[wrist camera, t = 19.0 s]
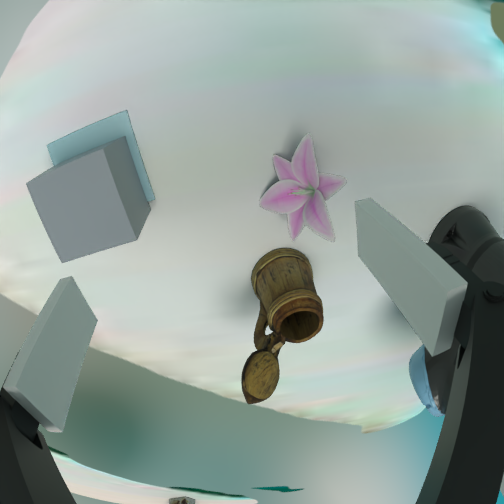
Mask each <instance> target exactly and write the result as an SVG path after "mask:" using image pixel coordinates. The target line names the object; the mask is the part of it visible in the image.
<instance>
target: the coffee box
mask: <svg viewBox="0 0 504 504" xmlns="http://www.w3.org/2000/svg"><path fill="white" fill-rule="evenodd" d="M169 504H195V500H194V499H191V498H188V497H180V498H172V499H169Z"/></svg>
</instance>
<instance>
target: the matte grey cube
mask: <svg viewBox="0 0 504 504" xmlns="http://www.w3.org/2000/svg"><path fill="white" fill-rule="evenodd" d="M26 185H27V187H28V190H29V192H30V195H31V197H32V200H33V202H34V205H35V207H36V209H37V212H38V214H39V216H40V219H41V221H42V223H43V225H44V228H45V230H46V232H47V234H48V236H49V238H50V240H51V242H52V244H53V247H54V249H55V251H56V253H57V255H58V257H59V259H60V260H61V262H62V263H64V262H67V261H71V260H74V259H77V258H80V257H83V256H86V255H90V254H93V253H96V252H99V251H103V250H106V249H109V248H112V247H116V246H119V245H122V244H126V243H129V242H133V241H136V240H137V239H138V237H139V235H140V232H141V230H142V228H143V226H144V223H145V221H146V219H147V217H148V215H149V212H150V210H151V209H150V206H149V203H148V202H147V199H146V196H145V193H144V191H143V188H142V185H141V182H140V179H139V176H138V173H137V170H136V167H135V164H134V161H133V158H132V155H131V152H130V149H129V146H128V143H127V140H126V136H123V137H121V138H118V139H115V140H113V141H110V142H108V143H105V144H103V145H100V146H98V147H95V148H93V149H90V150H88V151H86V152H83V153H81V154H79V155H76V156H74V157H72V158H70V159H67V160H65V161H63V162H61V163H59V164H57V165H55V166H53V167H52V168H50V169H48V170H47V171H45V172H43V173H42V174H40V175H39V176H37V177H35V178H34V179H32V180H31V181H29V182H28V183H26Z"/></svg>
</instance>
